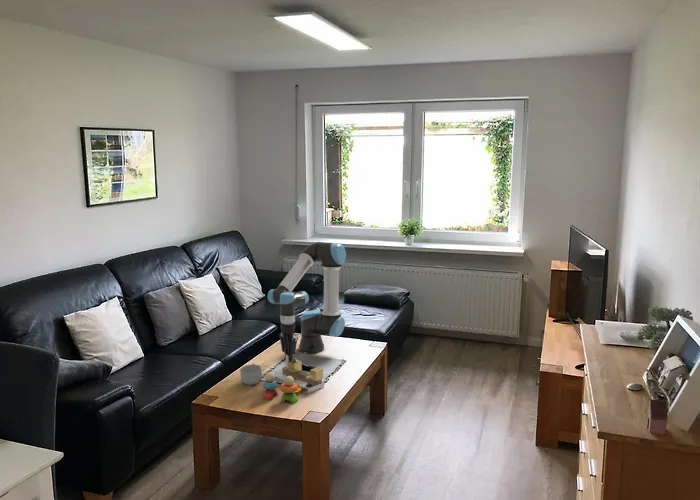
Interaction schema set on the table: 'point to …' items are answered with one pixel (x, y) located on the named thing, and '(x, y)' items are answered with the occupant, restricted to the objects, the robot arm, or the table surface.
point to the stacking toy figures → (287, 387)
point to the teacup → (251, 374)
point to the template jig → (304, 379)
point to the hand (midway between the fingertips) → (289, 366)
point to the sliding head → (293, 366)
